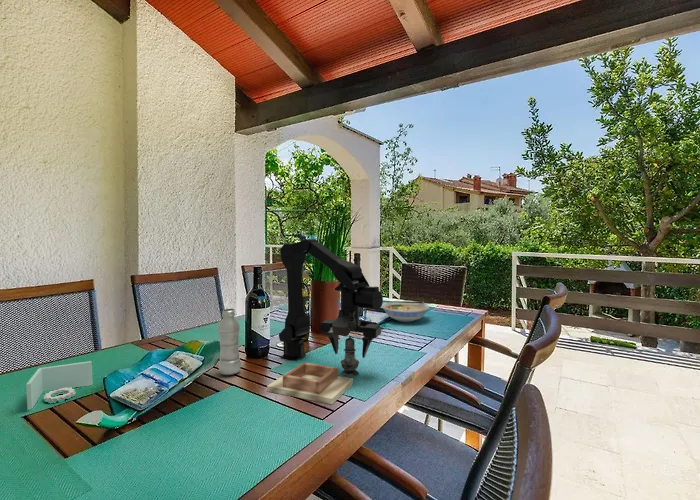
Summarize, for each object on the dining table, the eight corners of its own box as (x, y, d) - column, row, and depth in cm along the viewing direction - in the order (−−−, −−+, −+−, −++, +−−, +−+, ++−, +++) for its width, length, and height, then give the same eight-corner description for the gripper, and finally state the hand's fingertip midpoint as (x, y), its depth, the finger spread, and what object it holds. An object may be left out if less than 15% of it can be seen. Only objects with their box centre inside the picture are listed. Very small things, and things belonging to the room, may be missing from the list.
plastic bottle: (245, 371, 120) (244, 308, 119) (230, 379, 114) (228, 313, 112) (229, 368, 123) (228, 306, 121) (213, 375, 116) (212, 311, 115)
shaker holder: (267, 391, 106) (266, 375, 105) (293, 373, 119) (293, 359, 118) (332, 404, 98) (332, 387, 98) (353, 383, 111) (353, 368, 110)
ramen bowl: (377, 325, 175) (377, 308, 175) (381, 314, 198) (381, 298, 197) (432, 328, 171) (433, 310, 171) (430, 316, 194) (430, 300, 193)
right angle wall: (27, 414, 94) (26, 384, 94) (40, 394, 105) (38, 368, 104) (86, 403, 100) (85, 375, 99) (92, 386, 110) (91, 361, 110)
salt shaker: (357, 377, 115) (357, 338, 114) (338, 376, 116) (338, 337, 116) (360, 370, 121) (360, 333, 120) (342, 368, 122) (342, 332, 121)
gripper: (310, 308, 114) (310, 359, 115) (369, 314, 106) (369, 369, 107) (327, 301, 124) (327, 348, 125) (381, 306, 117) (381, 356, 118)
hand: (349, 355), depth 118 cm, fingers open, 9 cm apart
